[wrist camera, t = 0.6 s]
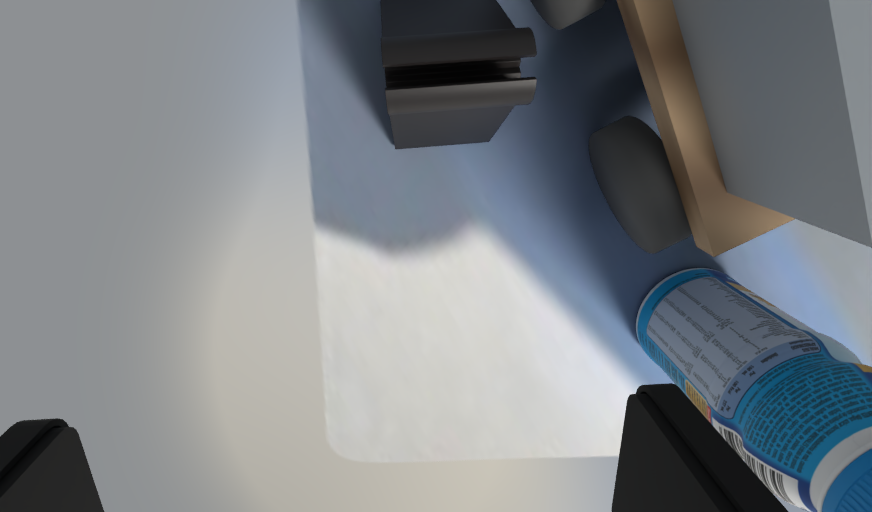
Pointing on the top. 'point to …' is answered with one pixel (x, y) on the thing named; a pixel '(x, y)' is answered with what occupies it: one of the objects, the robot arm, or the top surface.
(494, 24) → the phone stand
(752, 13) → the trolley
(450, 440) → the top surface
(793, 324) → the beverage bottle
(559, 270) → the top surface
